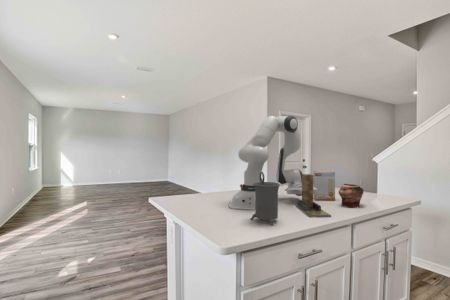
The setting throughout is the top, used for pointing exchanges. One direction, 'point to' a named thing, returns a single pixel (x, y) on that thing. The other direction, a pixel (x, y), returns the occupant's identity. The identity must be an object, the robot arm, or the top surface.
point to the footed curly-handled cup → (266, 200)
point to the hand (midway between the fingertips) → (305, 193)
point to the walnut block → (307, 189)
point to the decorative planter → (351, 195)
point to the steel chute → (312, 210)
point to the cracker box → (324, 185)
